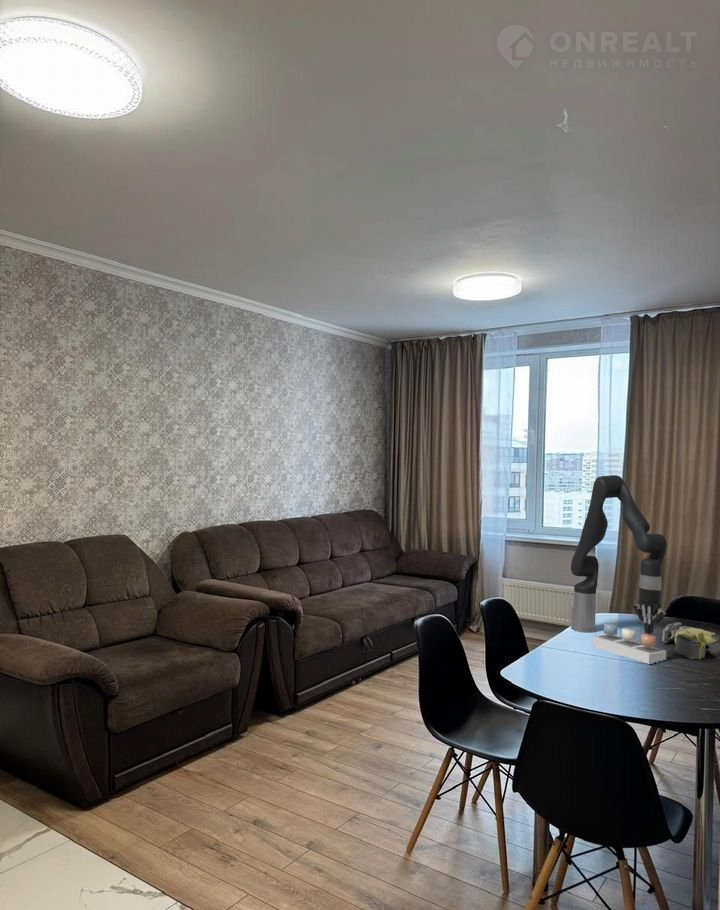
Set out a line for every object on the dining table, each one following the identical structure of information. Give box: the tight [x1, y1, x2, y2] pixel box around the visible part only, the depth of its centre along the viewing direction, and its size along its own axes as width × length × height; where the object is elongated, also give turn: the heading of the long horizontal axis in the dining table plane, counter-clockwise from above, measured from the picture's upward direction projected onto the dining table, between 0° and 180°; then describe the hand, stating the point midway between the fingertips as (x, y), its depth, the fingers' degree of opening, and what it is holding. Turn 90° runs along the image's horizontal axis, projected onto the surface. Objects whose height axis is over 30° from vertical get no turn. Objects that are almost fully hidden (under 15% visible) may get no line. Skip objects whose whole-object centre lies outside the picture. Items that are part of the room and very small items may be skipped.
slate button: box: [603, 622, 618, 636], centre depth 256 cm, size 5×5×4 cm
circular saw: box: [661, 621, 720, 660], centre depth 256 cm, size 10×30×25 cm
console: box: [592, 634, 667, 664], centre depth 248 cm, size 25×10×4 cm, turn 30°
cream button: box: [621, 627, 637, 642], centre depth 248 cm, size 5×5×4 cm
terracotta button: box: [640, 633, 657, 648], centre depth 241 cm, size 5×5×4 cm
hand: (648, 633), depth 241 cm, fingers closed
